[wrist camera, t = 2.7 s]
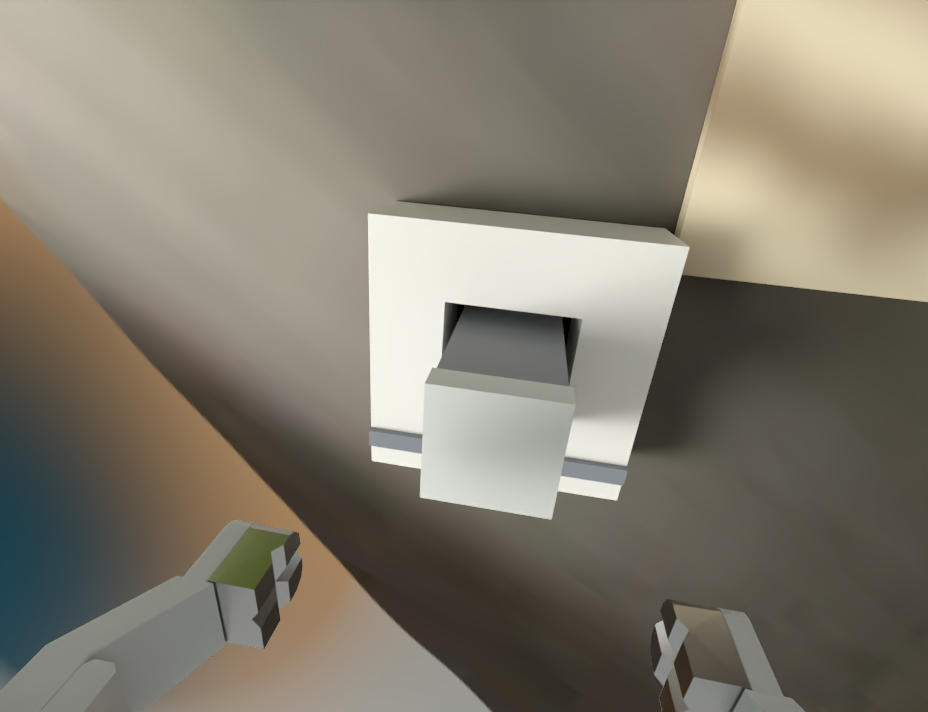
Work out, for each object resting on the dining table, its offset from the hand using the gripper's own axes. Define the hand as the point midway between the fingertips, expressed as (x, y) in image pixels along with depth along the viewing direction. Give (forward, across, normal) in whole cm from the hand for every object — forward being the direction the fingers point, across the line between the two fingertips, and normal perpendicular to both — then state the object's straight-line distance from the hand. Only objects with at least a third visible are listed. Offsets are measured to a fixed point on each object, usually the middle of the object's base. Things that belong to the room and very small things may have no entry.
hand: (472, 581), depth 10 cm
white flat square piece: (+13, 0, -1) cm, 13 cm away
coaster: (+13, -11, -10) cm, 19 cm away
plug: (+13, 0, -1) cm, 13 cm away
